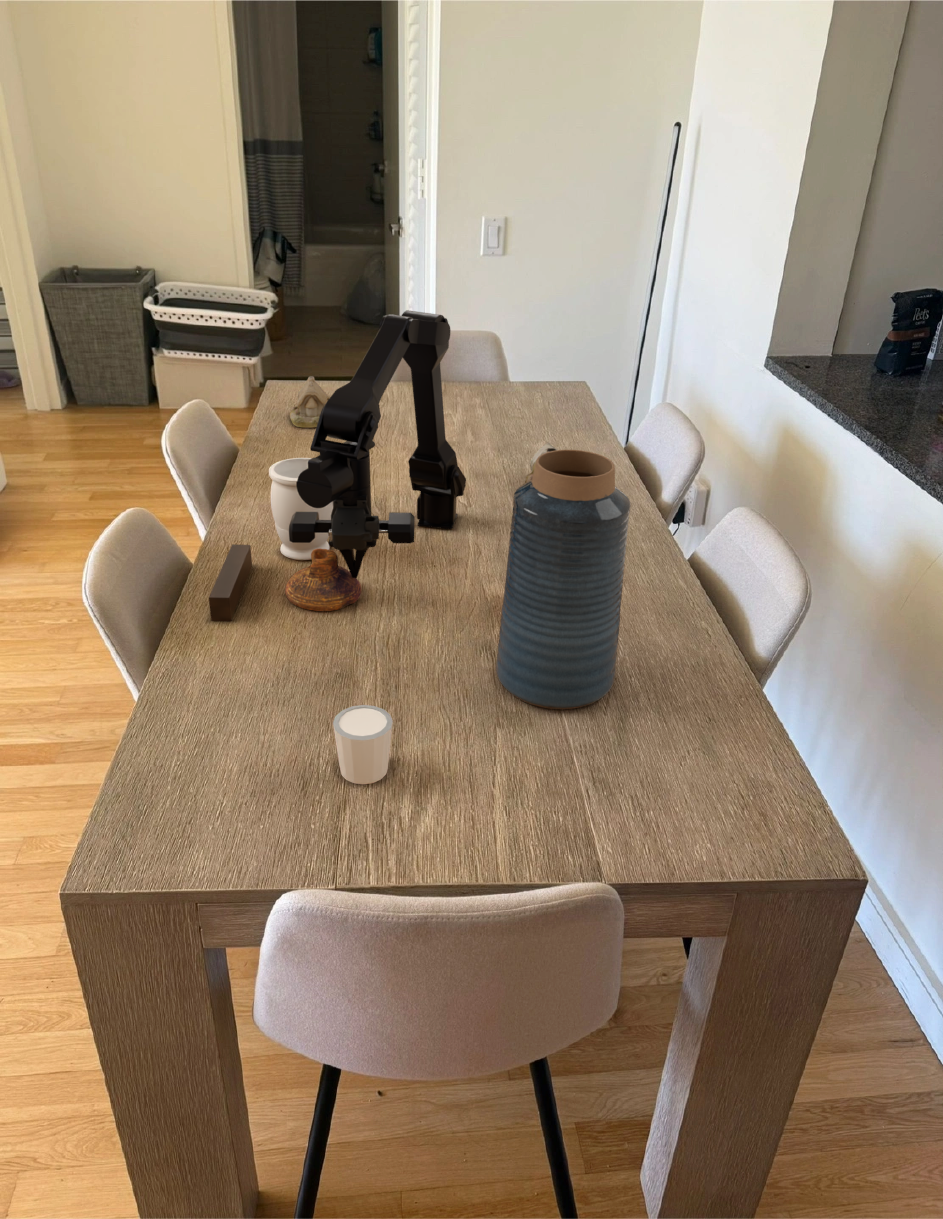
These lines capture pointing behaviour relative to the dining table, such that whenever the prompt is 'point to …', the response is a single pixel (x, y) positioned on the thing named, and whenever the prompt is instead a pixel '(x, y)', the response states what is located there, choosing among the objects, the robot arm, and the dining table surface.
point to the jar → (293, 508)
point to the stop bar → (230, 583)
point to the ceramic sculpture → (542, 450)
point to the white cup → (363, 743)
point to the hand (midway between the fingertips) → (354, 577)
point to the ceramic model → (309, 404)
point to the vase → (564, 582)
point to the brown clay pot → (323, 584)
